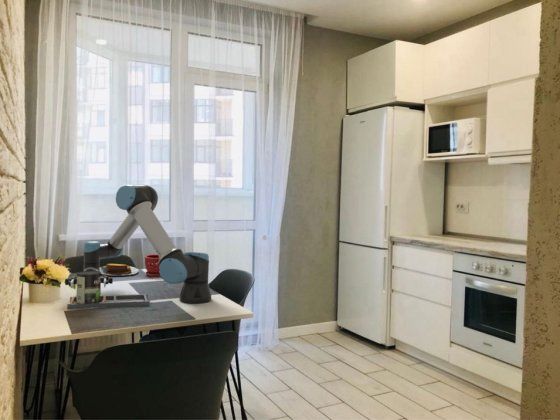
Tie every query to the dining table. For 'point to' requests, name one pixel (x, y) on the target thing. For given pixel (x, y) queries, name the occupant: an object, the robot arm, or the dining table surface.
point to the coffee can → (88, 287)
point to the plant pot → (152, 269)
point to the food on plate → (118, 270)
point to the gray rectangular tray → (110, 304)
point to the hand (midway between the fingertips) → (88, 284)
